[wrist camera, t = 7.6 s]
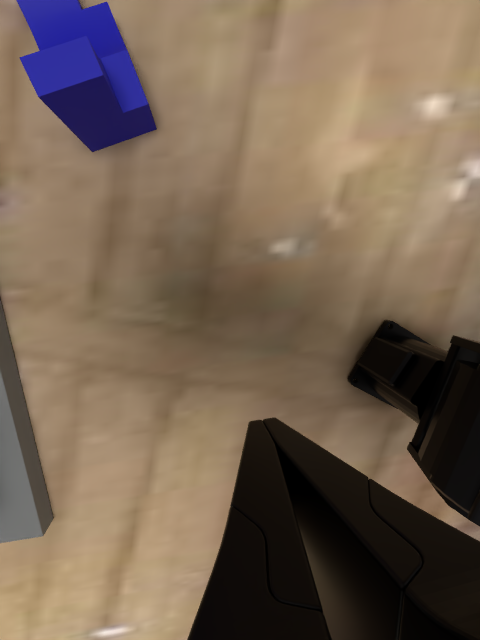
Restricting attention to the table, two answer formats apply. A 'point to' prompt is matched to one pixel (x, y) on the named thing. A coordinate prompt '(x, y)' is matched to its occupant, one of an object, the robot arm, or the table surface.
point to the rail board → (18, 456)
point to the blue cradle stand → (85, 72)
